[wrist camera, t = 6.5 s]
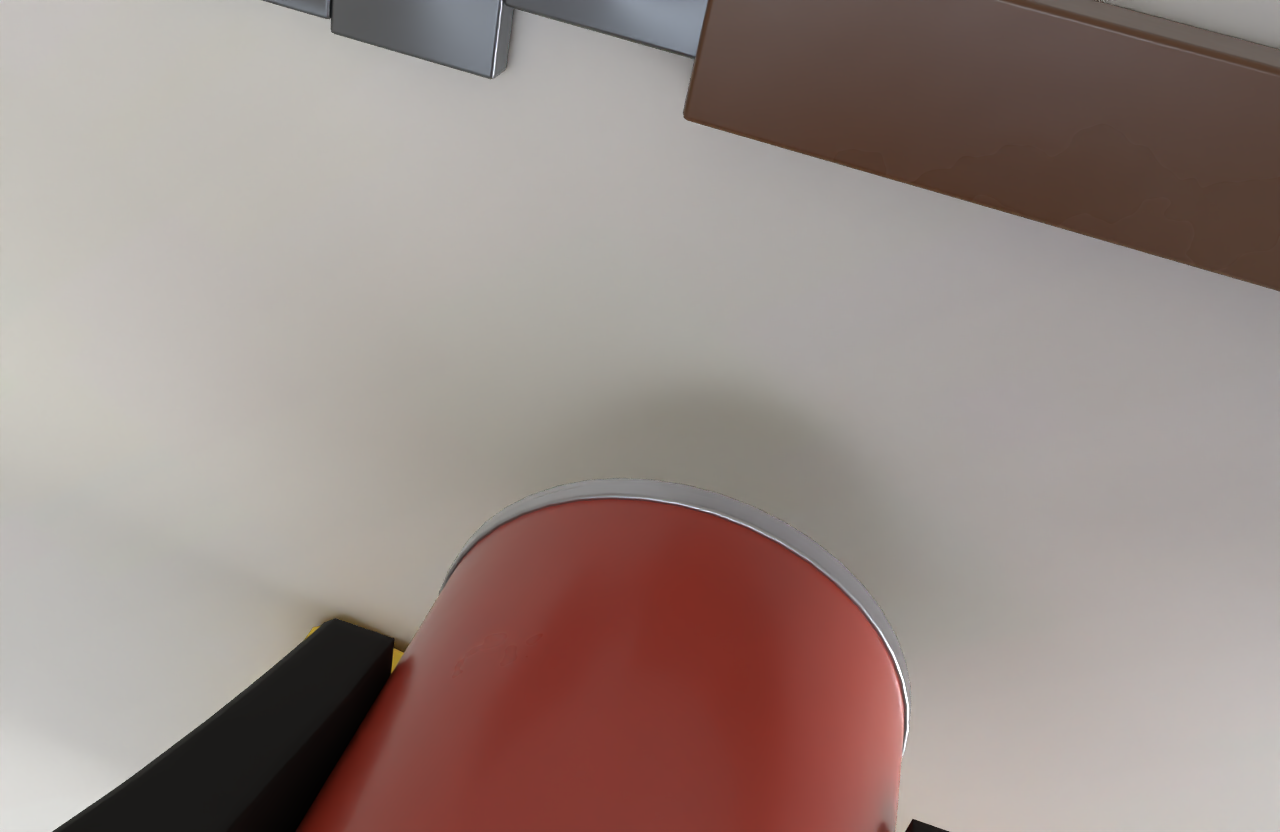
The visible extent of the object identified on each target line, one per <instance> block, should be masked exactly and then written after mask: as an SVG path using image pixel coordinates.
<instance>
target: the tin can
mask: <svg viewBox="0 0 1280 832" xmlns="http://www.w3.org/2000/svg"><path fill="white" fill-rule="evenodd" d="M910 714H911V686H910V681H909V675H908V670H907V664H906V661H905V658H904V655H903V652H902V650H901V647H900V644H899V641H898V639H897V636H896V634H895V633H894V631H893V629H892V627H891V625H890V624H889V622H888V620H887V618H886V616H885V614H884V613H883V611H882V609H881V608H880V607H879V605H878V604H877V603H876V601H875V600H874V599H873V597H872V596H871V595H870V593H869V592H868V591H867V589H866V588H865V587H864V585H863V584H862V583H861V582H860V581H859V580H858V579H857V578H856V577H855V576H854V575H853V574H852V573H851V572H850V571H849V570H848V569H847V568H846V567H845V566H844V565H843V564H842V563H841V562H840V561H839V560H837V559H836V558H835V557H834V556H832V555H831V554H830V553H829V552H828V551H826V550H825V549H824V548H823V547H821V546H820V545H819V544H818V543H817V542H815V541H814V540H812V539H811V538H809V537H807V536H806V535H804V534H803V533H801V532H800V531H798V530H797V529H795V528H794V527H792V526H790V525H789V524H787V523H786V522H784V521H782V520H780V519H778V518H776V517H774V516H772V515H770V514H768V513H766V512H764V511H762V510H760V509H758V508H756V507H754V506H751V505H748V504H746V503H743V502H740V501H738V500H735V499H733V498H730V497H727V496H725V495H722V494H719V493H715V492H711V491H707V490H704V489H700V488H696V487H692V486H689V485H683V484H677V483H671V482H664V481H658V480H649V479H629V478H613V479H598V480H586V481H581V482H575V483H570V484H565V485H560V486H556V487H553V488H550V489H547V490H544V491H541V492H538V493H535V494H532V495H529V496H527V497H525V498H524V499H522V500H520V501H518V502H516V503H514V504H512V505H510V506H508V507H506V508H504V509H503V510H501V511H500V512H499V513H497V514H496V515H495V516H493V517H492V518H490V519H489V520H488V521H486V522H485V523H484V524H483V525H482V526H481V527H480V528H479V529H478V530H477V531H476V532H475V533H474V534H473V535H472V536H471V537H470V538H469V540H468V541H467V543H466V544H465V546H464V547H463V549H462V550H461V552H460V553H459V555H458V556H457V558H456V559H455V561H454V562H453V564H452V566H451V567H450V569H449V571H448V572H447V575H446V577H445V580H444V582H443V584H442V587H441V589H440V591H439V596H438V598H437V599H436V601H435V603H434V604H433V606H432V608H431V609H430V611H429V613H428V614H427V616H426V618H425V619H424V621H423V622H422V624H421V626H420V627H419V629H418V631H417V632H416V634H415V636H414V637H413V639H412V641H411V642H410V644H409V645H408V647H407V649H406V650H405V652H404V654H403V655H402V657H401V659H400V660H399V662H398V664H397V665H396V667H395V668H394V670H393V672H392V673H391V675H390V677H389V678H388V680H387V682H386V683H385V685H384V687H383V688H382V690H381V691H380V693H379V695H378V696H377V698H376V700H375V701H374V703H373V705H372V706H371V708H370V710H369V711H368V713H367V714H366V716H365V718H364V719H363V721H362V723H361V724H360V726H359V728H358V729H357V731H356V733H355V734H354V736H353V737H352V739H351V741H350V742H349V744H348V746H347V747H346V749H345V751H344V752H343V754H342V756H341V757H340V759H339V760H338V762H337V764H336V765H335V767H334V769H333V770H332V772H331V774H330V775H329V777H328V779H327V780H326V782H325V783H324V785H323V787H322V788H321V790H320V792H319V793H318V795H317V797H316V798H315V800H314V802H313V803H312V805H311V806H310V808H309V810H308V811H307V813H306V815H305V816H304V818H303V820H302V821H301V823H300V825H299V826H298V828H297V829H296V831H295V832H895V831H896V819H897V807H898V795H899V783H900V771H901V759H902V757H903V754H904V752H905V748H906V743H907V738H908V732H909V726H910Z"/></svg>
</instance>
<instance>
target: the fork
mask: <svg viewBox="0 0 1280 832" xmlns="http://www.w3.org/2000/svg"><path fill="white" fill-rule="evenodd" d="M262 1H266V2H269V3H273V4H276V5H280V6H283V7H287V8H290V9H294V10H297V11H300V12H304V13H307V14H311V15H314V16H318V17H321V18H325V19H330V18H331V32H332V33H334V34H337V35H340V36H344V37H347V38H351V39H354V40H357V41H361V42H364V43H368V44H371V45H375V46H378V47H382V48H385V49H388V50H392V51H395V52H399V53H402V54H406V55H409V56H413V57H416V58H419V59H423V60H426V61H430V62H433V63H437V64H440V65H444V66H447V67H450V68H454V69H457V70H461V71H464V72H468V73H471V74H475V75H478V76H481V77H485V78H488V79H494V78H495V77H497V76H498V75H499V74H500V73H502V72H503V71H504V70H505V69H506V65H507V57H508V49H509V41H510V33H511V25H512V16H513V8H514V9H518V10H521V11H525V12H528V13H532V14H536V15H539V16H543V17H546V18H550V19H553V20H557V21H560V22H564V23H567V24H571V25H574V26H578V27H582V28H585V29H589V30H592V31H596V32H599V33H603V34H606V35H610V36H613V37H617V38H620V39H624V40H628V41H631V42H635V43H638V44H642V45H645V46H649V47H652V48H656V49H659V50H663V51H666V52H670V53H674V54H677V55H681V56H684V57H688V58H691V59H695V60H694V65H693V69H692V74H691V78H690V83H689V87H688V92H687V96H686V101H685V105H684V110H683V115H684V118H685V119H686V120H688V121H691V122H695V123H698V124H702V125H705V126H708V127H712V128H715V129H719V130H722V131H726V132H729V133H733V134H736V135H740V136H743V137H747V138H750V139H754V140H757V141H760V142H764V143H767V144H771V145H774V146H778V147H781V148H785V149H788V150H792V151H795V152H799V153H802V154H805V155H809V156H812V157H816V158H819V159H823V160H826V161H830V162H833V163H837V164H840V165H844V166H847V167H851V168H854V169H857V170H861V171H864V172H868V173H871V174H875V175H878V176H882V177H885V178H889V179H892V180H896V181H899V182H902V183H906V184H909V185H913V186H916V187H920V188H923V189H927V190H930V191H934V192H937V193H941V194H944V195H948V196H951V197H954V198H958V199H961V200H965V201H968V202H972V203H975V204H979V205H982V206H986V207H989V208H993V209H996V210H999V211H1003V212H1006V213H1010V214H1013V215H1017V216H1020V217H1024V218H1027V219H1031V220H1034V221H1038V222H1041V223H1045V224H1048V225H1051V226H1055V227H1058V228H1062V229H1065V230H1069V231H1072V232H1076V233H1079V234H1083V235H1086V236H1090V237H1093V238H1096V239H1100V240H1103V241H1107V242H1110V243H1114V244H1117V245H1121V246H1124V247H1128V248H1131V249H1135V250H1138V251H1142V252H1145V253H1148V254H1152V255H1155V256H1159V257H1162V258H1166V259H1169V260H1173V261H1176V262H1180V263H1183V264H1187V265H1190V266H1193V267H1197V268H1200V269H1204V270H1207V271H1211V272H1214V273H1218V274H1221V275H1225V276H1228V277H1232V278H1235V279H1239V280H1242V281H1245V282H1249V283H1252V284H1256V285H1259V286H1263V287H1266V288H1270V289H1273V290H1277V291H1280V50H1279V49H1275V48H1271V47H1267V46H1264V45H1260V44H1256V43H1252V42H1249V41H1245V40H1241V39H1237V38H1234V37H1230V36H1226V35H1222V34H1219V33H1215V32H1211V31H1207V30H1204V29H1200V28H1196V27H1192V26H1189V25H1185V24H1181V23H1177V22H1174V21H1170V20H1166V19H1162V18H1159V17H1155V16H1151V15H1147V14H1143V13H1140V12H1136V11H1132V10H1128V9H1125V8H1121V7H1117V6H1113V5H1110V4H1106V3H1102V2H1098V1H1095V0H262Z"/></svg>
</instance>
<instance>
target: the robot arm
mask: <svg viewBox="0 0 1280 832" xmlns="http://www.w3.org/2000/svg"><path fill="white" fill-rule="evenodd" d="M393 649H394V638H391V637H388V636H385V635H382V634H379V633H377V632H374V631H371V630H368V629H365V628H362V627H359V626H356V625H354V624H351V623H348V622H345V621H342V620H339V619H336V618H335V619H333V620H330V621H327V622H325V623H323V624H322V625H321V626H320V627H319V628H318V629H317V630H315V631H314V632H313V633H312V634H311V635H310V636H309V637H307V638H306V639H305V640H304V641H303V642H302V643H300V644H299V645H298V646H297V647H296V648H295V649H293V650H292V651H291V652H290V653H289V654H287V655H286V656H285V657H284V658H283V659H282V660H280V661H279V662H278V663H277V664H276V665H274V666H273V667H272V668H271V669H270V670H268V671H267V672H266V673H265V674H264V675H262V676H261V677H260V678H259V679H258V680H256V681H255V682H254V683H253V684H251V685H250V686H249V687H248V688H247V689H245V690H244V691H243V692H242V693H240V694H239V695H238V696H237V697H235V698H234V699H233V700H231V701H230V702H229V703H228V704H226V705H225V706H224V707H223V708H221V709H220V710H219V711H218V712H216V713H215V714H214V715H213V716H211V717H210V718H209V719H208V720H206V721H205V722H204V723H202V724H201V725H200V726H198V727H197V728H196V729H194V730H193V731H192V732H190V733H189V734H188V735H186V736H185V737H184V738H182V739H181V740H180V741H178V742H177V743H176V744H174V745H173V746H172V747H171V748H169V749H168V750H167V751H165V752H164V753H163V754H161V755H160V756H159V757H157V758H156V759H155V760H153V761H152V762H151V763H149V764H148V765H147V766H145V767H144V768H143V769H141V770H140V771H139V772H137V773H136V774H135V775H133V776H132V777H130V778H129V779H128V780H126V781H125V782H124V783H122V784H121V785H119V786H118V787H117V788H115V789H114V790H112V791H111V792H109V793H108V794H106V795H105V796H104V797H102V798H101V799H99V800H98V801H96V802H95V803H93V804H92V805H90V806H89V807H88V808H86V809H85V810H83V811H82V812H80V813H79V814H77V815H76V816H74V817H73V818H72V819H70V820H69V821H67V822H66V823H64V824H63V825H61V826H60V827H58V828H57V829H55V830H54V831H53V832H295V831H296V829H297V828H298V826H299V825H300V823H301V821H302V820H303V818H304V816H305V815H306V813H307V811H308V810H309V808H310V806H311V805H312V803H313V802H314V800H315V798H316V797H317V795H318V793H319V792H320V790H321V788H322V787H323V785H324V783H325V782H326V780H327V779H328V777H329V775H330V774H331V772H332V770H333V769H334V767H335V765H336V764H337V762H338V760H339V759H340V757H341V756H342V754H343V752H344V751H345V749H346V747H347V746H348V744H349V742H350V741H351V739H352V737H353V736H354V734H355V733H356V731H357V729H358V728H359V726H360V724H361V723H362V721H363V719H364V718H365V716H366V714H367V713H368V711H369V710H370V708H371V706H372V705H373V703H374V701H375V700H376V698H377V696H378V695H379V693H380V691H381V690H382V688H383V687H384V685H385V683H386V682H387V680H388V678H389V677H390V675H391V670H392V659H393ZM905 832H949V831H946V830H943V829H940V828H937V827H934V826H932V825H929V824H926V823H923V822H920V821H917V820H914V819H912V821H911V823H910V824H909V826H908V828H907V830H906V831H905Z"/></svg>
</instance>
